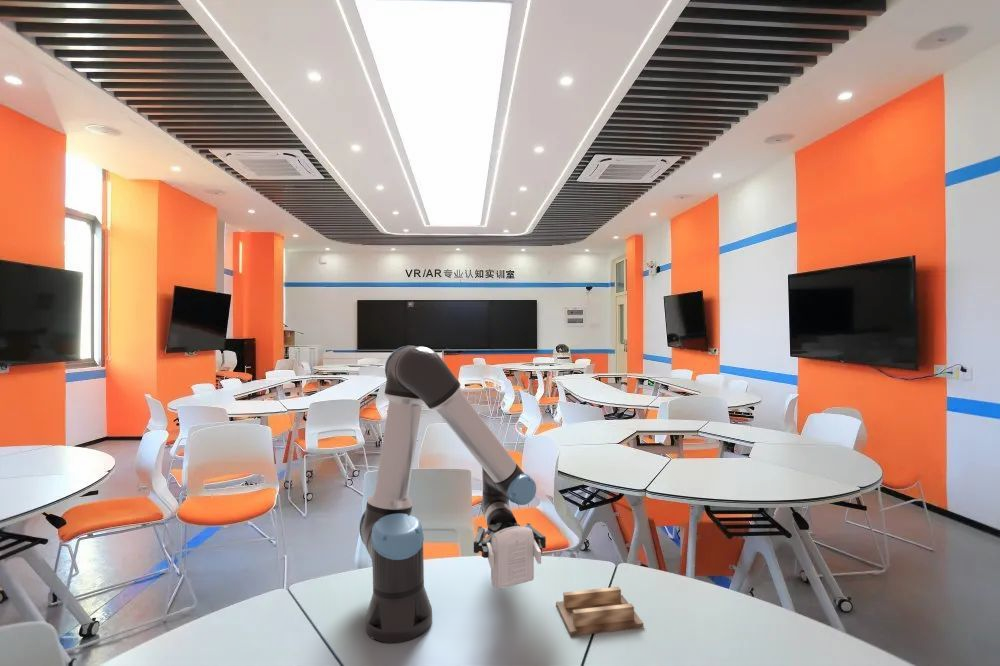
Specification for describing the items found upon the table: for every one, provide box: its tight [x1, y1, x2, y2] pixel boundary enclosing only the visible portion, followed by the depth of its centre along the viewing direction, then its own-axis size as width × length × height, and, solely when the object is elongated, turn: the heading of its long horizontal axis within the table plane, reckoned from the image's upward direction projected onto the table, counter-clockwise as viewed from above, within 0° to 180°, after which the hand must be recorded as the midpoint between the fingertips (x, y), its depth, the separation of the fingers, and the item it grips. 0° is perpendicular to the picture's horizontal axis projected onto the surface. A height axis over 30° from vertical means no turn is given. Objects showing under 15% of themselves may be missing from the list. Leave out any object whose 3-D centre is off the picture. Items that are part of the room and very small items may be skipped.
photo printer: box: [490, 525, 535, 589], centre depth 111 cm, size 10×4×12 cm, turn 116°
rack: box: [555, 586, 644, 637], centre depth 114 cm, size 17×12×4 cm
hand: (516, 559), depth 107 cm, fingers closed on photo printer, 10 cm apart
